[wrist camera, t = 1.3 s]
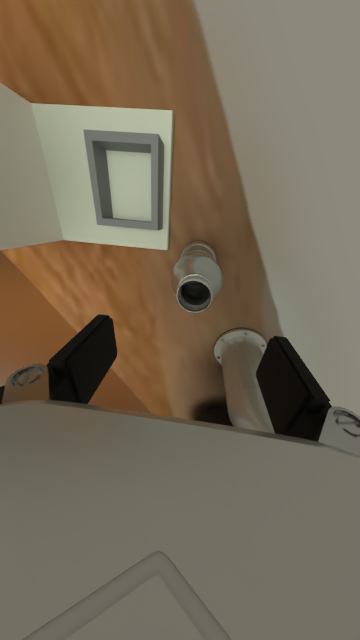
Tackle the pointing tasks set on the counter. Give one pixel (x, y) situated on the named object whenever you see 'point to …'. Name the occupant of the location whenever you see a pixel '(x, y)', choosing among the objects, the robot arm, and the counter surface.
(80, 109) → the socket stand
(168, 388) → the counter surface
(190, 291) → the grey tall bottle shape
